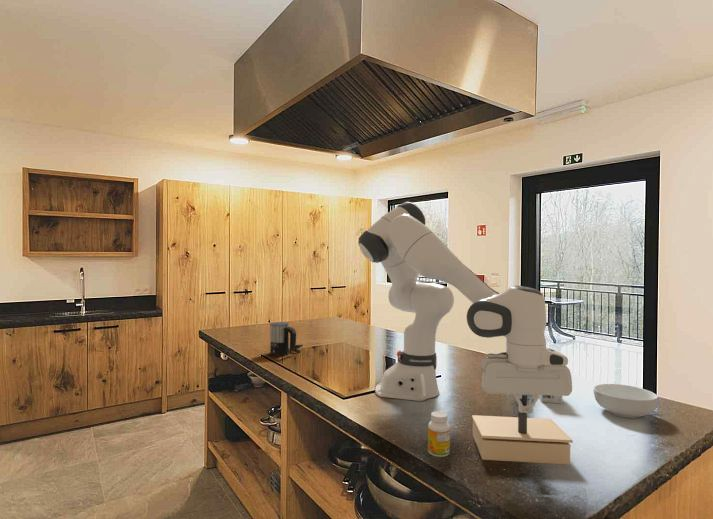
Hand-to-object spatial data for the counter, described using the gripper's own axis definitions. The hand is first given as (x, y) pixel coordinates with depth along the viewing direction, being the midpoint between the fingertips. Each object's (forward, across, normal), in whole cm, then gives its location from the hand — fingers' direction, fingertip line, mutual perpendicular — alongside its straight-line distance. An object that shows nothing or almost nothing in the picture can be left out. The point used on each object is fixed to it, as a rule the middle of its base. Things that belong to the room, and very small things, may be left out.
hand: (525, 412), depth 103 cm
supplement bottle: (+12, -20, +2) cm, 24 cm away
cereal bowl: (+12, +40, +36) cm, 55 cm away
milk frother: (+10, -85, +100) cm, 132 cm away
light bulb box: (+12, +21, +48) cm, 53 cm away
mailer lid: (+6, 0, +5) cm, 8 cm away
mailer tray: (+12, 0, +6) cm, 13 cm away
